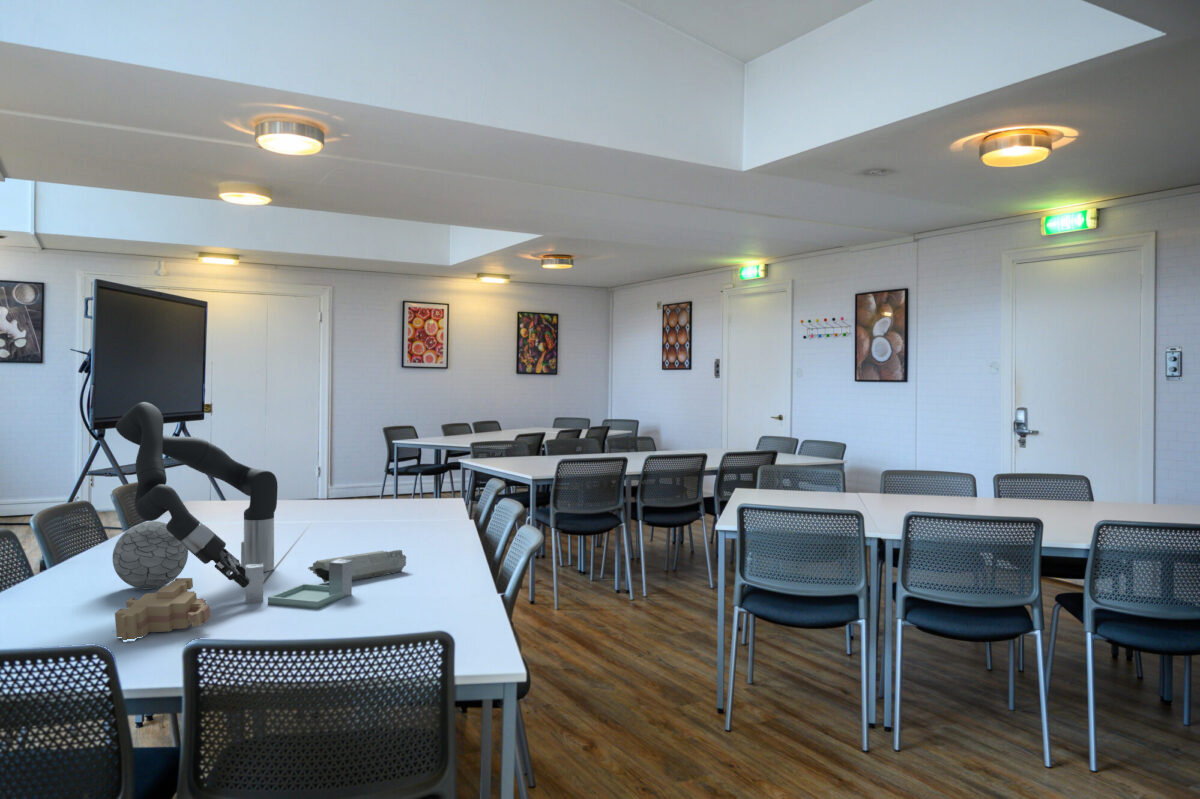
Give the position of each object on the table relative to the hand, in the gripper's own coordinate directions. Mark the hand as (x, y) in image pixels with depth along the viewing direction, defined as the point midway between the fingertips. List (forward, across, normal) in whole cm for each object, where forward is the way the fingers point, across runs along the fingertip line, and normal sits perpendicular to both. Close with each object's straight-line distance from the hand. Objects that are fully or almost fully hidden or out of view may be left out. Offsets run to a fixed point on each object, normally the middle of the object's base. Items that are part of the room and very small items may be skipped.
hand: (247, 581), depth 226 cm
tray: (+15, +5, +8) cm, 18 cm away
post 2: (+21, +4, +14) cm, 26 cm away
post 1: (+5, +1, -2) cm, 6 cm away
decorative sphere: (-14, -25, -24) cm, 38 cm away
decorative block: (+27, -17, +19) cm, 37 cm away
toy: (-8, +23, -16) cm, 30 cm away
